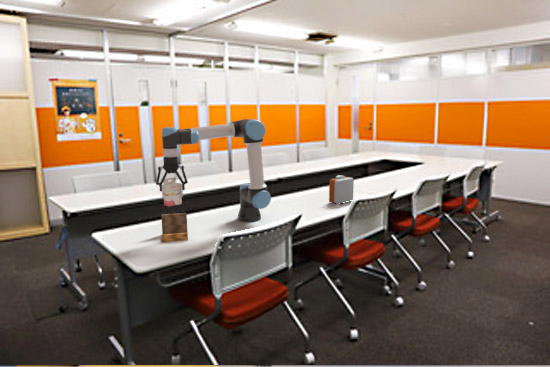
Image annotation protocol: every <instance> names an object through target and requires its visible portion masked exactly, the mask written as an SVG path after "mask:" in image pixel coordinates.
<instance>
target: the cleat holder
mask: <svg viewBox="0 0 550 367" xmlns="http://www.w3.org/2000/svg"><path fill="white" fill-rule="evenodd" d="M161 230H162V231H161V232H162V233H161V234H160V240H161V242H160V243H171V242H183V241H189V240H188V239H189V237H188V216H187V212H181V213H165V214H161Z"/></svg>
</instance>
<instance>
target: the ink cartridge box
mask: <svg viewBox="0 0 550 367" xmlns="http://www.w3.org/2000/svg"><path fill="white" fill-rule="evenodd" d="M176 179H177V178H176V177H170V178H169V177H168V178H165V179H164V181H163V183H162V185H163V191H164V198H163V205H164V207H165V206H166V207H169V208H170V207H173V206H178V205H179V206H180V205H182V202H183V200H182V196H181V184H182V183H181V182H177V180H176Z"/></svg>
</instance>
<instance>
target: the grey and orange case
mask: <svg viewBox="0 0 550 367" xmlns="http://www.w3.org/2000/svg"><path fill="white" fill-rule="evenodd" d="M354 182H355V181H354V177H349V176H345V175H342V174H341V175H339V174H338V175H336V176H335V178H330V180H329V186H328V187H329V189H328V192H329V193H328V195H329V197H328V198H329V199H328V202H329V203H330V202H332V203H336V204H339V203H343V202H346V201H350V200H353V201H354ZM332 203H331V204H332ZM336 204H335V205H336ZM339 205H340V204H339Z"/></svg>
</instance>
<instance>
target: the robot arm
mask: <svg viewBox="0 0 550 367" xmlns="http://www.w3.org/2000/svg"><path fill="white" fill-rule="evenodd" d="M265 135H266V126H265V125H264V123H263V122H262V121H260V120H258V119H254V118H252V119H251V118H243V119H239V120H236V121H229V123H224V124H216V125H215V124H214V125H207V126H198V127H197V126H196V127H191V128H189V127H188V128H183V129H182V128H179V129H178V128H177V127H172V126H170V127H169V126H168V127H163V128H162V129H161V140H162V141H161V142H162V156H163V157H162V158H163V165H162V166H158V167H157V171H158V172H157V177H156V181H155V185H156V186H159V192H161V196H162V197H161V198H162V199H164V191H163V181H164V179H166V177H167V175H169V174H175V176H176V177H177V178H178V180H179V181H180V183H181V198H182V197H184V193H183V192H184V191H185V190H186V188H185V185H186V184H188V182H189V181H188V178H187V176H186V172H185V166H184V165H180V164H179V157H178V146H179V145H180V146H182V145H195V144H198V143H199V141H202V140H203V141H204V140H211V139H218V138H220V139H221V138H226V137H227V138H228V137H231V138H232V139H233V138H242V139H243V144H244V145H246V152H247V153H246V154H247V164H248V173H249V174H248V175H249V183H244V184H240V186H239V203H240V205H239V206H240V207H239V211H238V214H237V220H239V221H240V222H241V221H242V222H247V223H248V222H257V221H259V220H261V219H262V213H261V211H260V210H261V209H262V210H263V209H265V208H267V207H268V206H269V205H270V204H271V200H272V196H271V194H270V192H269V191H268V185H267V184H266V183H265V178H264V177H265V176H264V165H263V156H262V155H263V154H262V144H263V142H264V137H265ZM163 170H164V171H165V172H164V174H163V175H162V178H161V180H160V177H161V173H162V171H163ZM178 170H181V174H182V176H183V178H182V176H181V175H180V173H179V172H178Z"/></svg>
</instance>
